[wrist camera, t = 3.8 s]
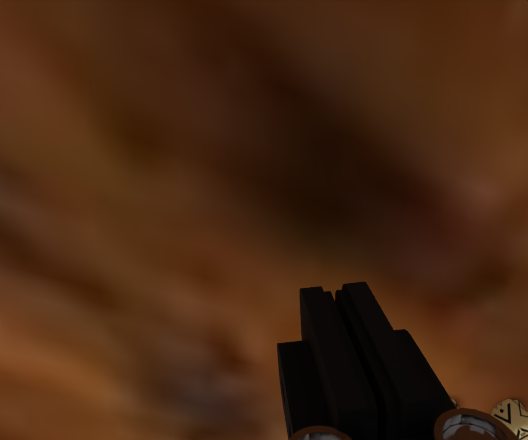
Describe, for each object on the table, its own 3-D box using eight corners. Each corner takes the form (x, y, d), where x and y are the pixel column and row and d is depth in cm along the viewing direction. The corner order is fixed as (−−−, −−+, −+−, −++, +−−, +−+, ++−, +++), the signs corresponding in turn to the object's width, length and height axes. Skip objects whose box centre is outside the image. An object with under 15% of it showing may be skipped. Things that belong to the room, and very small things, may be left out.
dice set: (421, 389, 20) (439, 424, 19) (527, 373, 20) (556, 406, 19) (416, 461, 22) (432, 498, 21) (512, 446, 23) (536, 482, 21)
